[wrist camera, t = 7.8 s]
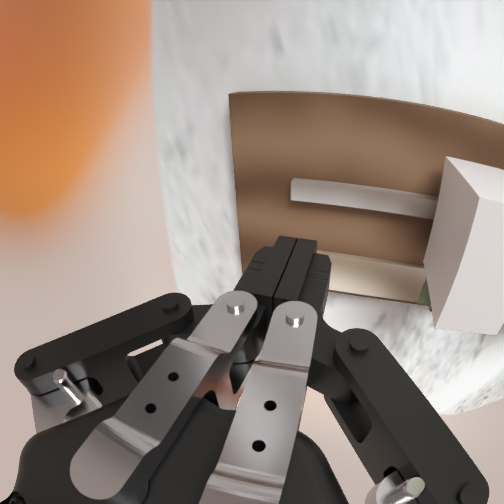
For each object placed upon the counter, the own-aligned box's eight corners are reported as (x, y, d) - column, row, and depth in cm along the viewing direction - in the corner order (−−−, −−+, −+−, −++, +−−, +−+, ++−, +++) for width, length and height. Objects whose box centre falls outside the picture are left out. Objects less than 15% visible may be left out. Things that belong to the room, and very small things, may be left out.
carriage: (444, 154, 14) (479, 197, 9) (501, 168, 13) (550, 215, 8) (408, 304, 20) (410, 375, 15) (455, 310, 19) (467, 379, 14)
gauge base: (237, 92, 19) (176, 106, 13) (608, 168, 10) (660, 212, 4) (249, 266, 26) (211, 329, 20) (555, 309, 17) (579, 370, 11)
